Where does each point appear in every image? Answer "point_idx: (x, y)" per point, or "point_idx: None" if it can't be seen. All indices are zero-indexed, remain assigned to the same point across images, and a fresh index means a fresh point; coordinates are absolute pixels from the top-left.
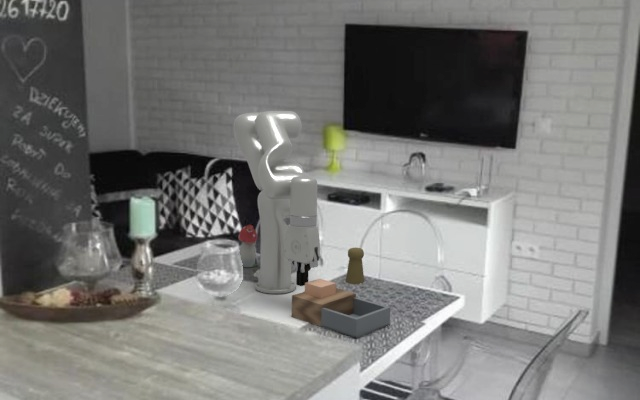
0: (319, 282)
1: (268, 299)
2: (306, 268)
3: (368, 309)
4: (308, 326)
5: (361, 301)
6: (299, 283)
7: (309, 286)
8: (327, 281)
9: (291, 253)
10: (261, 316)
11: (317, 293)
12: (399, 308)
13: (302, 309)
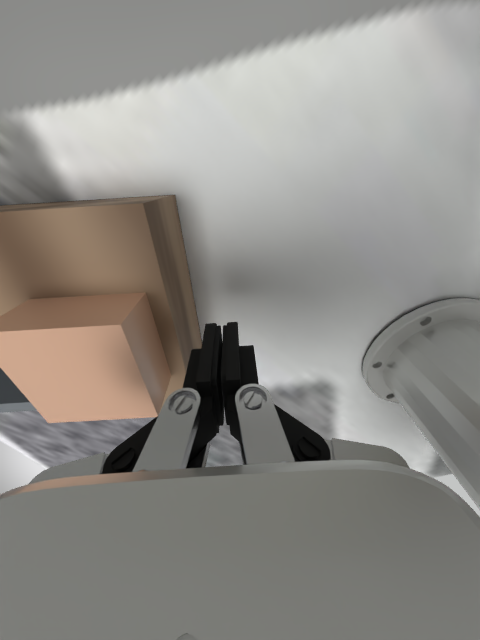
0: (89, 382)
1: (387, 268)
2: (145, 434)
3: (6, 384)
4: (24, 160)
5: (20, 399)
6: (211, 329)
7: (86, 318)
8: (92, 414)
9: (320, 629)
10: (266, 55)
11: (38, 307)
12: (94, 441)
13: (85, 202)
